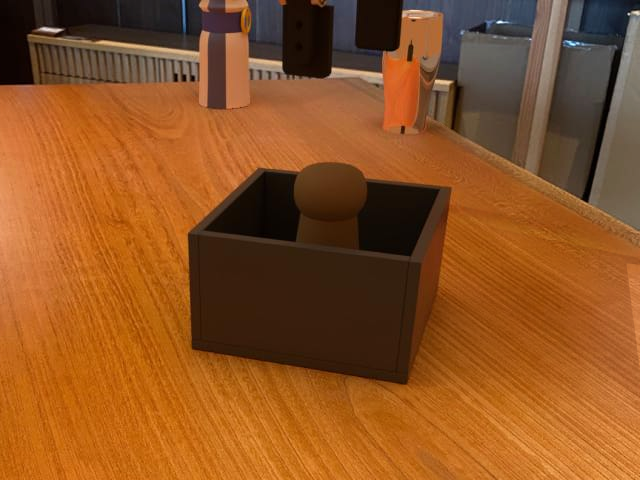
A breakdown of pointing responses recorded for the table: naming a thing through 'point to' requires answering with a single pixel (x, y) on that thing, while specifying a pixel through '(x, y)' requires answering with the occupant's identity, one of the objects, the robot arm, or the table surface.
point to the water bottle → (224, 54)
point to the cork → (330, 204)
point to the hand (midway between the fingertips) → (343, 61)
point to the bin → (318, 279)
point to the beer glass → (412, 72)
